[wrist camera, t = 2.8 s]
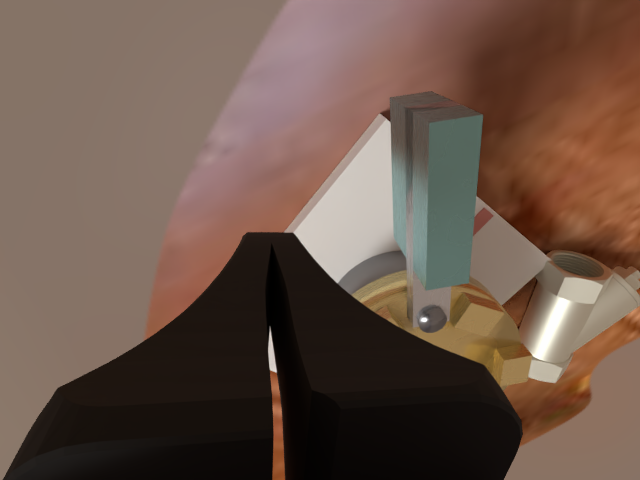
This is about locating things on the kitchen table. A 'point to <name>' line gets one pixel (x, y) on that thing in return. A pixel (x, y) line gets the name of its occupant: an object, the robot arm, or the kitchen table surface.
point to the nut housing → (377, 228)
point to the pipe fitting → (573, 309)
